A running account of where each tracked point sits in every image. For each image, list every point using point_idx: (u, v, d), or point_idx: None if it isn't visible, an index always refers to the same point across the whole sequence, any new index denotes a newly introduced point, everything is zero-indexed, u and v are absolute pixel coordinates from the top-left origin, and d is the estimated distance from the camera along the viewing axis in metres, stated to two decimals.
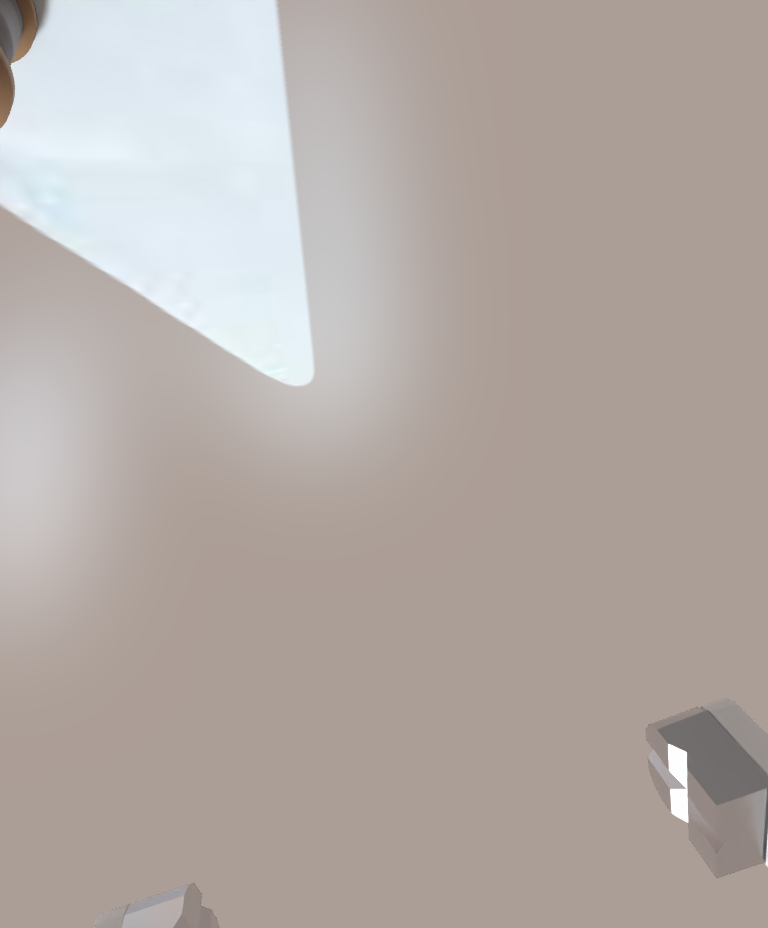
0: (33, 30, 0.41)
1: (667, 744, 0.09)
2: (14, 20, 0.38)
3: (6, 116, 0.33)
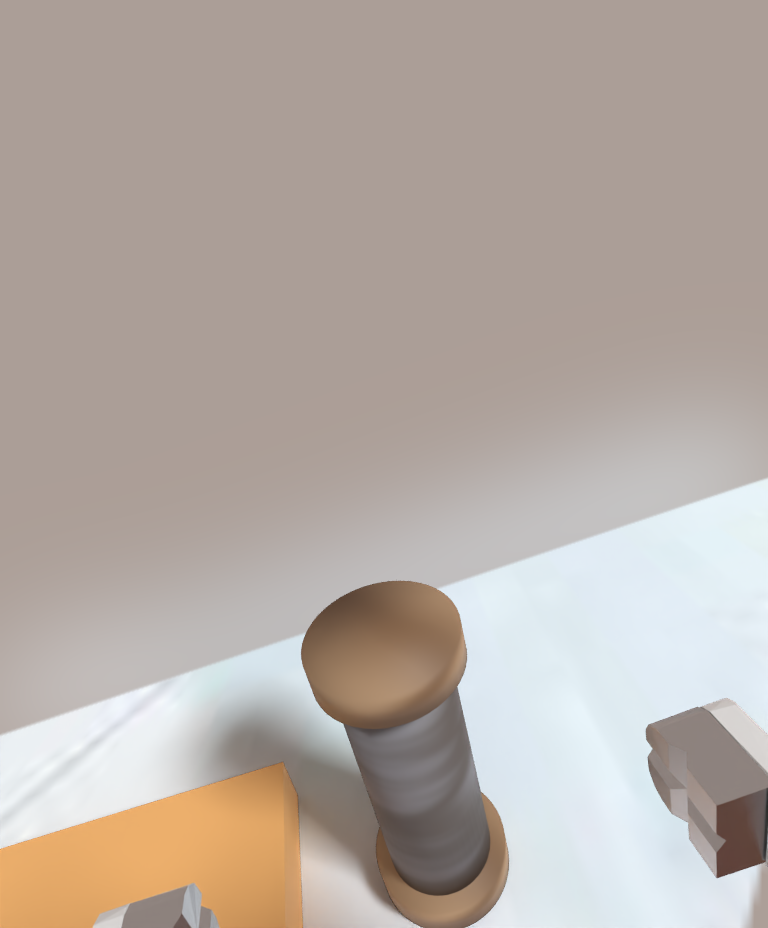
0: None
1: (667, 744, 0.09)
2: None
3: (415, 583, 0.25)
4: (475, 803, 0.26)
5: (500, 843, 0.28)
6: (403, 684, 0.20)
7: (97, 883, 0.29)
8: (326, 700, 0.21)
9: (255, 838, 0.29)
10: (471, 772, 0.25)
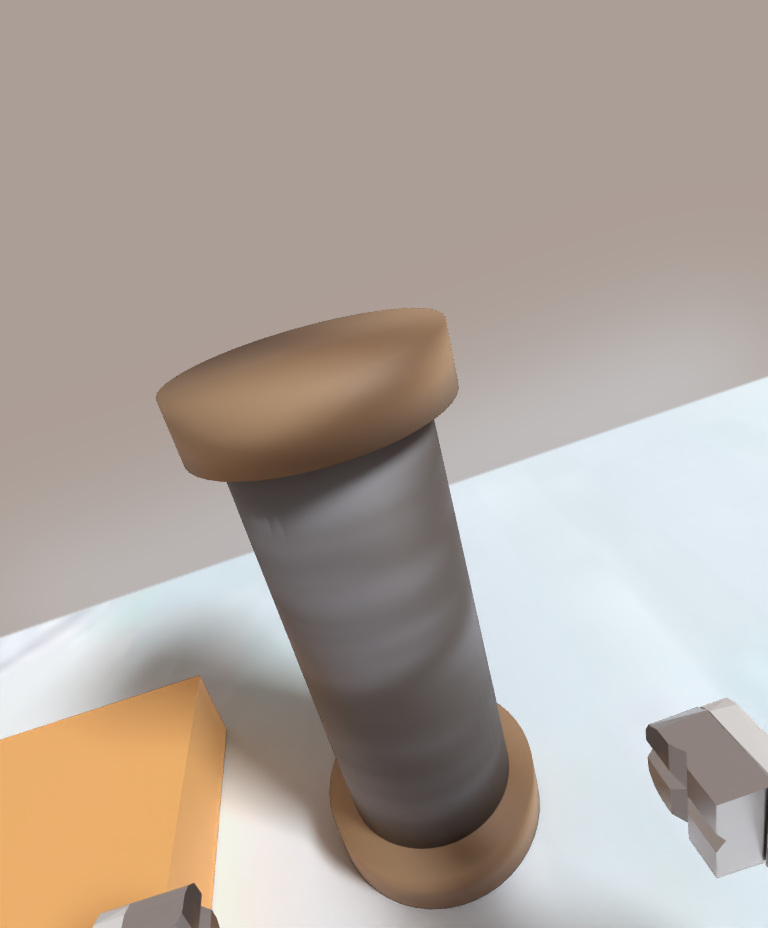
0: None
1: (667, 744, 0.09)
2: None
3: (370, 312, 0.15)
4: (483, 685, 0.15)
5: (524, 766, 0.17)
6: (329, 375, 0.10)
7: None
8: (187, 435, 0.11)
9: (141, 775, 0.19)
10: (474, 628, 0.15)
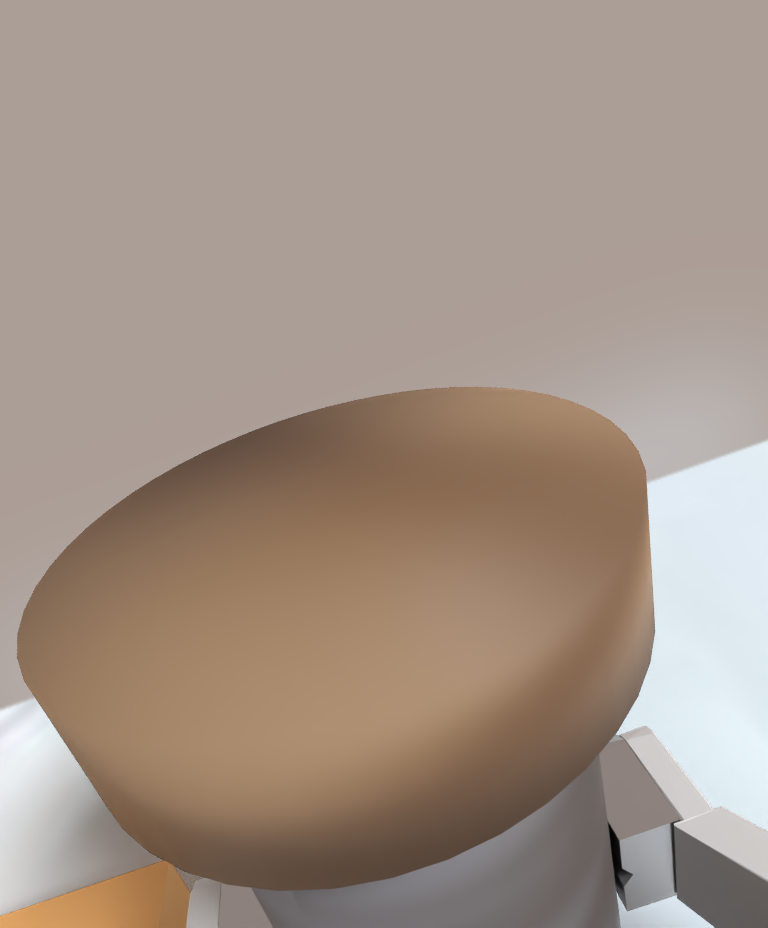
0: None
1: None
2: None
3: (441, 389, 0.09)
4: None
5: None
6: (422, 659, 0.04)
7: None
8: (69, 749, 0.05)
9: None
10: None
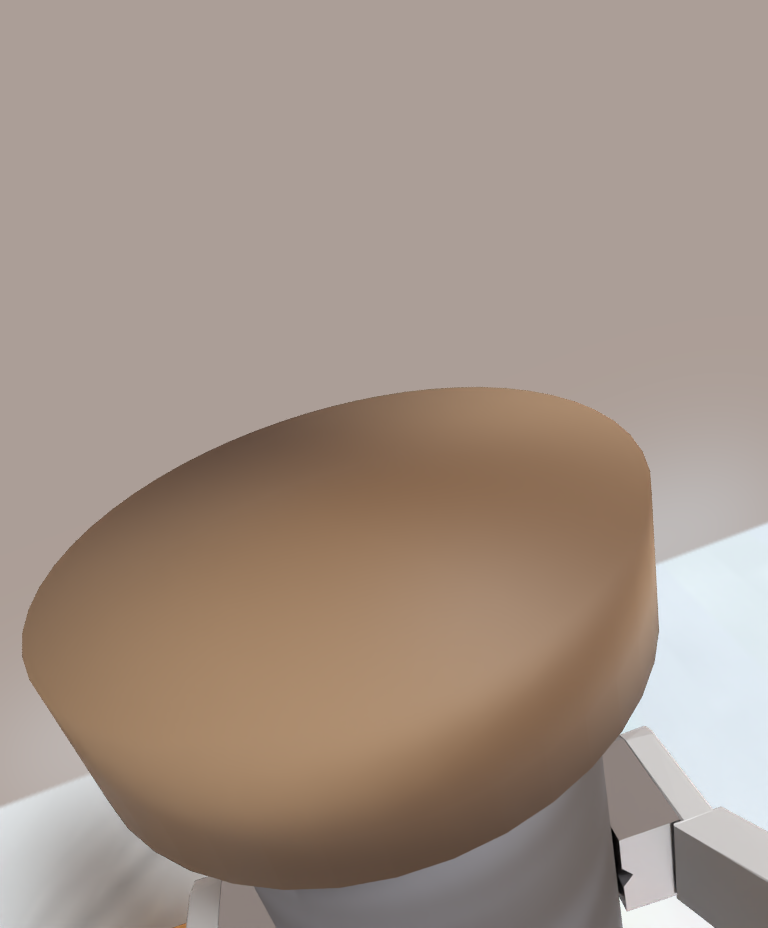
0: None
1: None
2: None
3: (444, 389, 0.09)
4: None
5: None
6: (429, 658, 0.04)
7: None
8: (75, 748, 0.05)
9: None
10: None
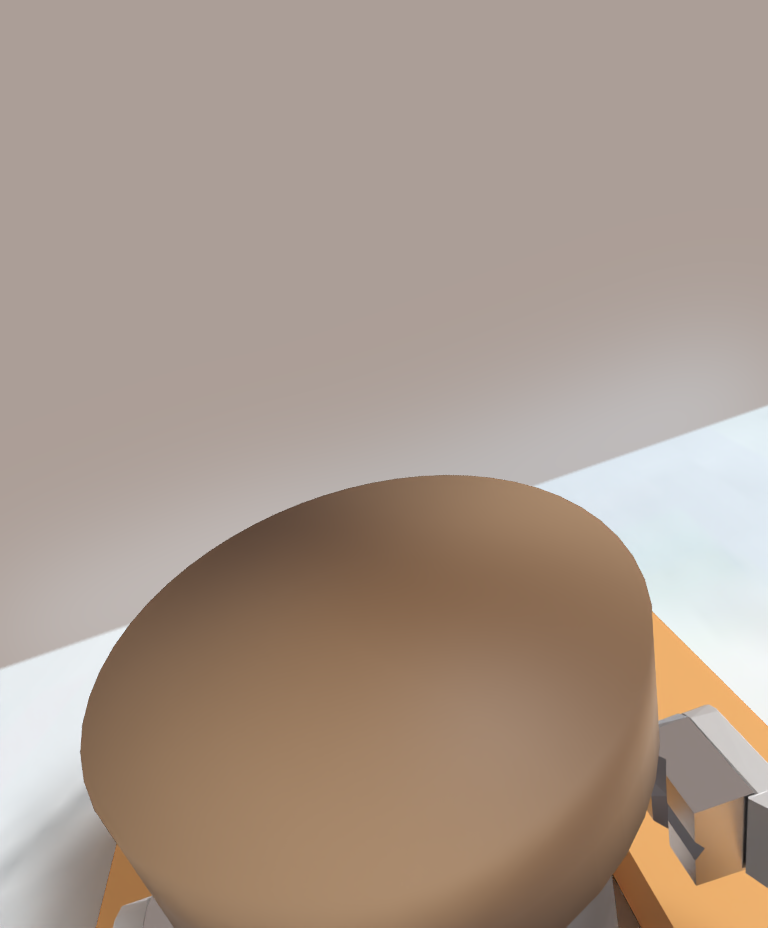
0: None
1: None
2: None
3: (456, 477, 0.09)
4: None
5: None
6: (456, 815, 0.04)
7: None
8: (136, 871, 0.05)
9: None
10: None
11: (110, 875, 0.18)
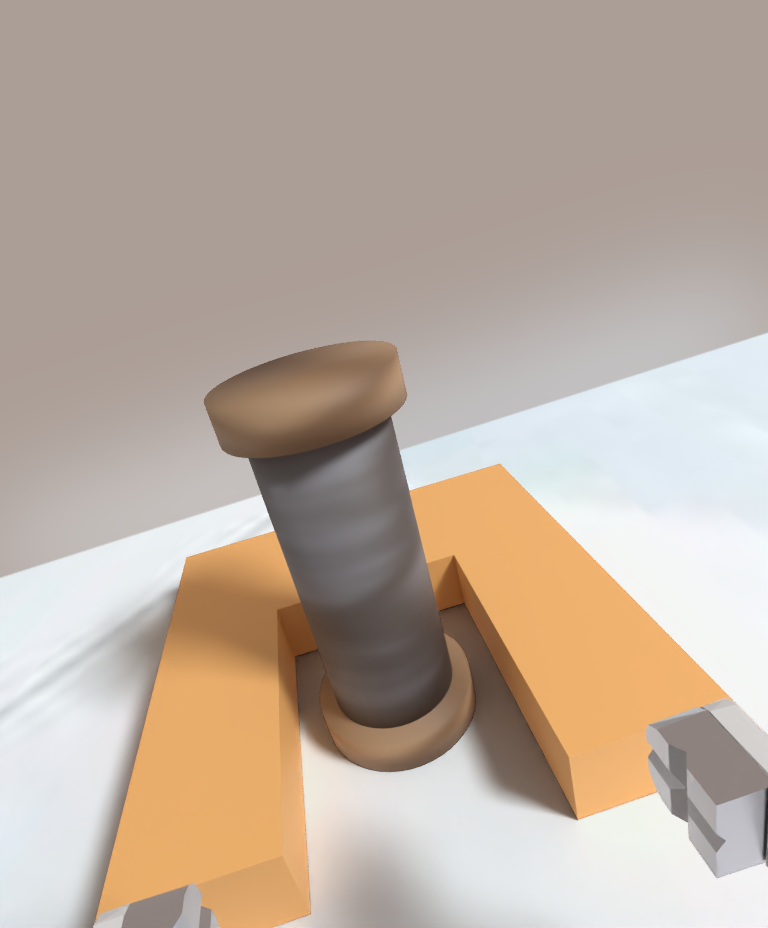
0: None
1: (667, 744, 0.09)
2: None
3: (350, 342, 0.21)
4: (428, 609, 0.21)
5: (463, 676, 0.23)
6: (318, 391, 0.16)
7: None
8: (227, 428, 0.17)
9: (501, 496, 0.33)
10: (421, 567, 0.21)
11: (172, 616, 0.29)
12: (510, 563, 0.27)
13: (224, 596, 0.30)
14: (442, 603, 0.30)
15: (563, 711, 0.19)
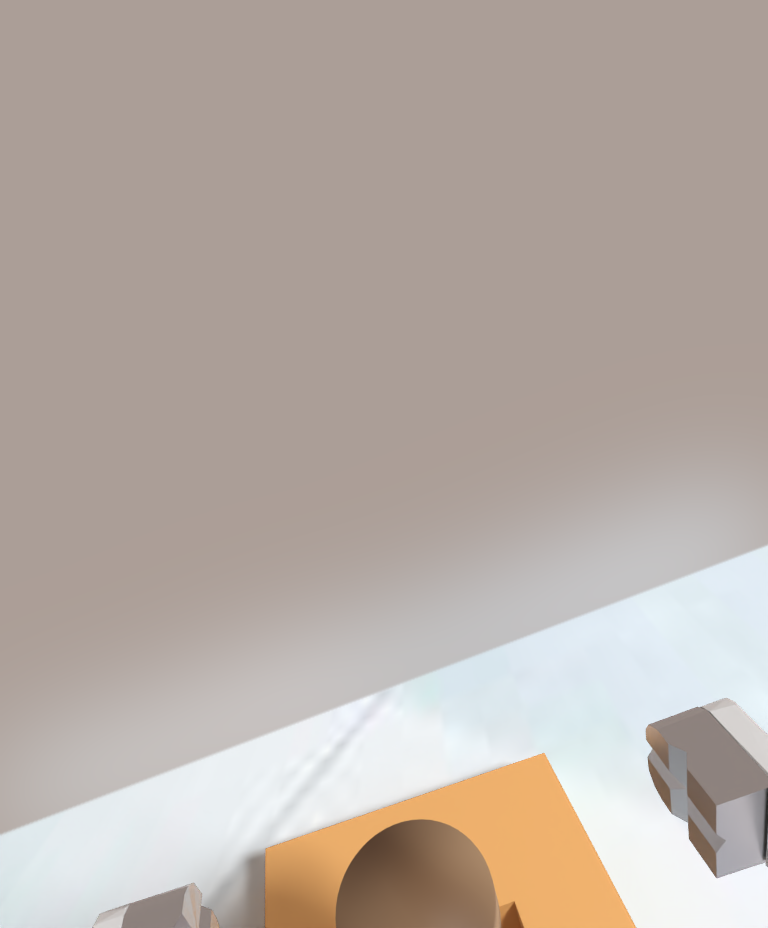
0: None
1: (667, 744, 0.09)
2: None
3: (444, 825, 0.25)
4: None
5: None
6: None
7: None
8: None
9: (549, 811, 0.37)
10: None
11: None
12: (566, 927, 0.31)
13: (310, 924, 0.34)
14: None
15: None
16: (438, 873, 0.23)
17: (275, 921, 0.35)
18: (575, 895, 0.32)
